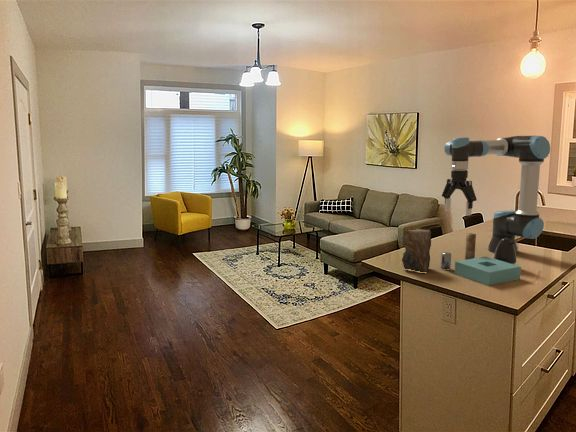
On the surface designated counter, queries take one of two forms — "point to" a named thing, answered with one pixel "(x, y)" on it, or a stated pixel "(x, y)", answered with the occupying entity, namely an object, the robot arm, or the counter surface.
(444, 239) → the counter surface
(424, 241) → the rough brown stone
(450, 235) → the counter surface
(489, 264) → the socket block
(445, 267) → the short steel pin
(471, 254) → the long walnut pin
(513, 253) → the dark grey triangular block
